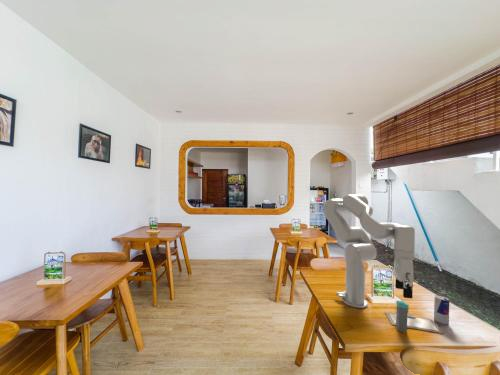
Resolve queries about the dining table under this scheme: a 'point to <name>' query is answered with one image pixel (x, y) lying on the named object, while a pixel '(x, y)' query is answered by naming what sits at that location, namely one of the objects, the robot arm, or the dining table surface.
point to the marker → (401, 316)
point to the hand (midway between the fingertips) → (403, 293)
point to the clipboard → (416, 323)
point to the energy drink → (441, 310)
